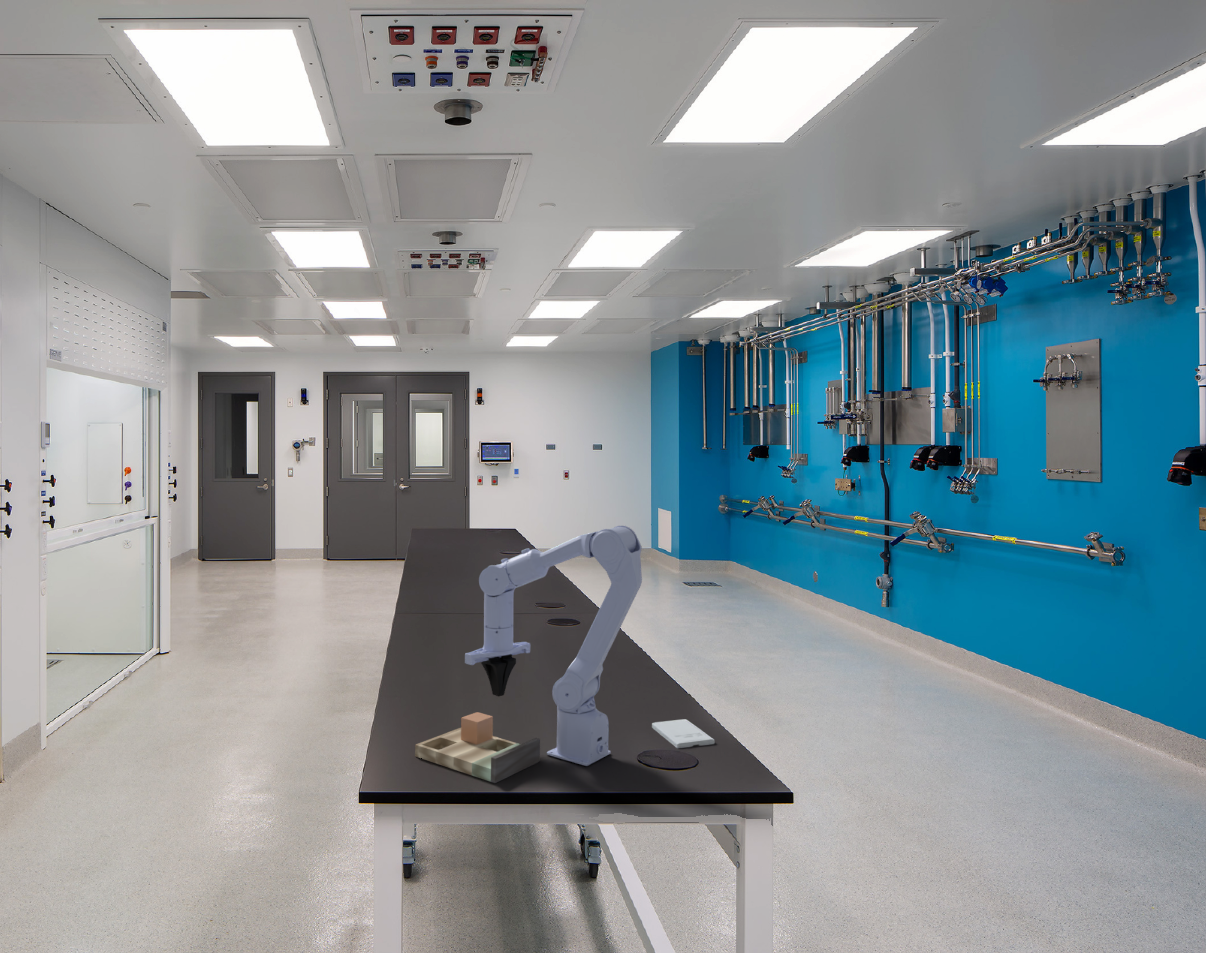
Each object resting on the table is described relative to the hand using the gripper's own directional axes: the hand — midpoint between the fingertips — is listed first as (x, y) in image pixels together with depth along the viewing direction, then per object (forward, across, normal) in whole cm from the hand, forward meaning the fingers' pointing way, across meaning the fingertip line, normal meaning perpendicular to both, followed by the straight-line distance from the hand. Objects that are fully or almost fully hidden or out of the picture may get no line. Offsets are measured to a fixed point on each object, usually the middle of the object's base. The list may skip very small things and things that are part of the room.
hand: (498, 694), depth 152 cm
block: (+7, +6, +1) cm, 9 cm away
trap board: (+9, +8, +4) cm, 13 cm away
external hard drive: (+10, -30, +22) cm, 39 cm away
